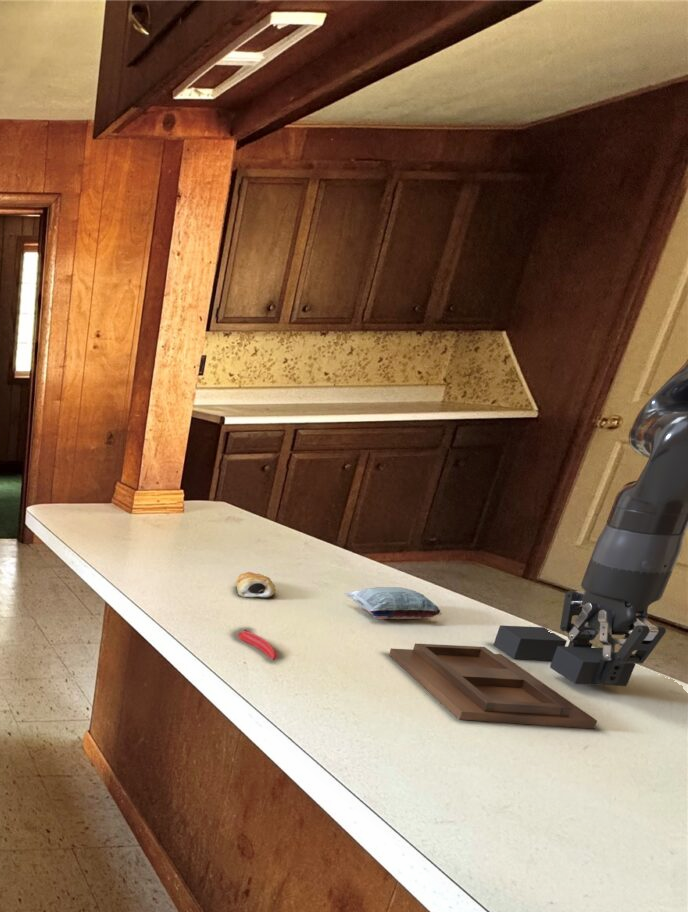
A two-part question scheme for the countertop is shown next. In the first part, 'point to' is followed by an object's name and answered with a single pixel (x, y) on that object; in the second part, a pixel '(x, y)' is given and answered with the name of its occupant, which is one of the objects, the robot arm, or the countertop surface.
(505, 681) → the brown base tray
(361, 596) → the packaged food
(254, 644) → the cayenne pepper
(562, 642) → the dark gray block
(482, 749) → the countertop surface
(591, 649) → the dark grey block
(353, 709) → the countertop surface
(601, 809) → the countertop surface
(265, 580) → the pastry
